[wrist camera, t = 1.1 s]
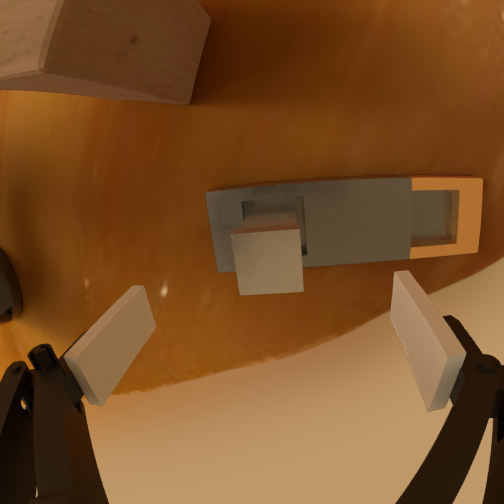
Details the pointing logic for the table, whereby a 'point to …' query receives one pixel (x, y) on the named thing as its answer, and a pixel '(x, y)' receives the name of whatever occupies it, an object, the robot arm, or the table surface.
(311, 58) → the table surface
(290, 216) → the grey tall block
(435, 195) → the rail
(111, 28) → the wooden block
